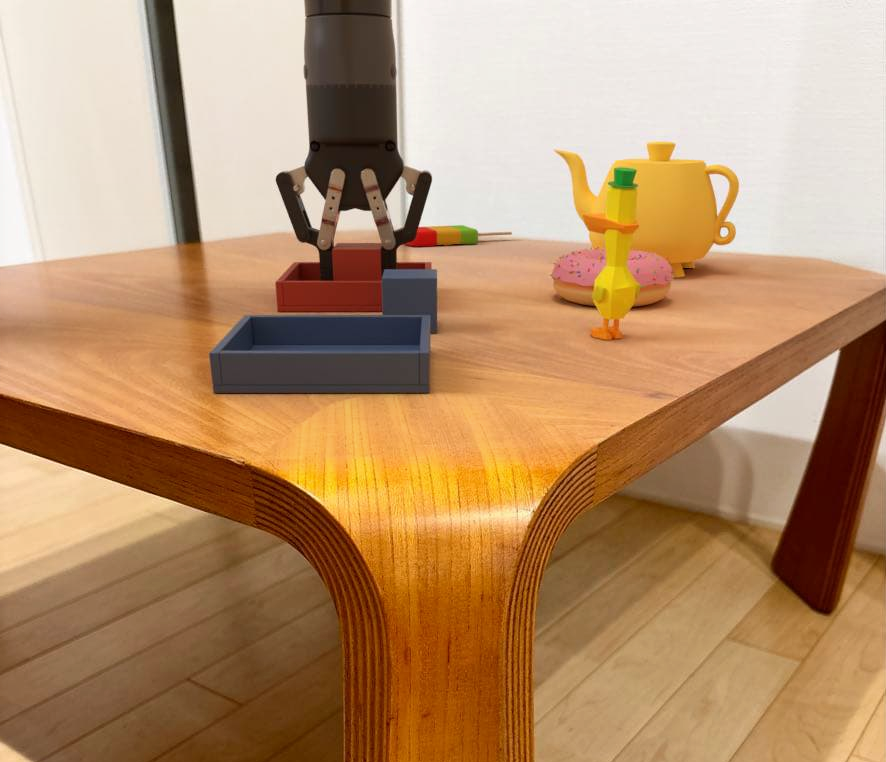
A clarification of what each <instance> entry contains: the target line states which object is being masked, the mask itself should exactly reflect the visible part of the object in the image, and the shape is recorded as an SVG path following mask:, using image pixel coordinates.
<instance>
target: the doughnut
mask: <svg viewBox="0 0 886 762" xmlns="http://www.w3.org/2000/svg"><path fill="white" fill-rule="evenodd" d="M598 248H599V247H597V249H596V248H595V249H593V247H590V249H588V248H585V249H582V250H577V249H576V250H573V251H571V252H568V253H566V254H563V255H562V256H560V257H558V258H559V259H558V260H557V261H556V262H553V263H552V264H553V265H554V266H553V269H552V272H551V274H550V275H549V276H550V277H551V279H553V283H552V284H553V288H554V291H555V292H556V293H557V295H559V296H560V297H561V298H562V299H564V300H566V301H568V302H571V303H574V304H577V305H578V304H579V305H584V306H590V307H596V305H595V303H594V301H593V298H591V297H592V293H593V291H594V283H595V279H596V278H597V276H598V275H599V274H600V273H601V271H602V270H603V269H604V267H605V266H606V249H600V248H599V249H598ZM667 260H668V258H667V259H666V260H665V259H664V258H663V257H661V256H659V255H657V254H656V253H655V254H654V253H649V251H648V252H643V251H635V250H630V252H629V257H628V262H627V267H628V269H629V271H630V272H631V274H632V276H633V278H634V279H635V281H636V282H637V283H639V284H640V285H641V286H640V291H639V296H638V297H637V298H635V302H634V305H633V306H632V307H633V308H634V307H643V306H647V305H651V304H655V303H657V302H659V301H661V300H662V299H664V298H665V297H666V296H667V295H668V293H669V292H670V290H671V288H672V282H673V280H674V278H675V277H674V276H675V275H673V273H674V272H673V270H672V268H671V267H672V266H670V263H669V262H668V261H667ZM632 307H631V308H632Z"/></svg>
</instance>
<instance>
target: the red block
mask: <svg viewBox="0 0 886 762" xmlns="http://www.w3.org/2000/svg"><path fill="white" fill-rule="evenodd" d="M381 250H382V243H381V242H337V243H336V244H334V248H333V249H332V257H333V277H334V281H382V269H381Z"/></svg>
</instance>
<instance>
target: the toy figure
mask: <svg viewBox="0 0 886 762" xmlns="http://www.w3.org/2000/svg"><path fill="white" fill-rule="evenodd" d="M636 172H637V170H635V169H632V168H623V167H618V168H614V181H611V182H608V185H611V186H610V188H609V189H608V190H607V202H606V214H587V215H583V217H584V222H583V223H584V225H585V227H586V229H587V230H588V232H589V231H592V232H596V233H601V234H605V245H606V266H605V267H604V269H603V270H602V271H601V273H600V274H599V275H598V276H597V278H596V279H595V283H594V291H593V293H592V297H591V298H593V301H594V303H595V305H596V306H595V308H596V309H597V311H598V312H599V315H600V316H601V318H602V319H603V320H602V326H601V327H593V328H591V329H590V336H591V337H593V338H596V339H601V340H605V341H609V340H612V339H615V340H617V339H622V338H623V334H622V333H621V331H620V328H619V327H620V320H622V319H624V318H625V317H626V316H627V314H628V313H629V311H630V310H631V309H632V306H633V305H634V302H635V298H637V297H638V296H639V291H640V286H641V285H640V284H639V283H637V282H636V281H635V279H634V278H633V276H632V274H631V272H630V271H629V269H628V267H627V262H628V257H629V252H630V247H631V242H632V237H633V233H634V232H635V231H636V230H637V229H638V228H639V224H638V222H637V221H636V219H635V216H636V205H637V193H638V190H637V189H636V187H638V184H635V183H633V181H634V178H635V175H636ZM610 320H613V323H612V324H613V325H612V326H611V325H610V323H609V322H610Z"/></svg>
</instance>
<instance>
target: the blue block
mask: <svg viewBox="0 0 886 762" xmlns="http://www.w3.org/2000/svg"><path fill="white" fill-rule="evenodd" d="M381 313H382V315H430V334H438V269H436V268H433V269H385V270H384V273H383V276H382V312H381Z"/></svg>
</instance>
